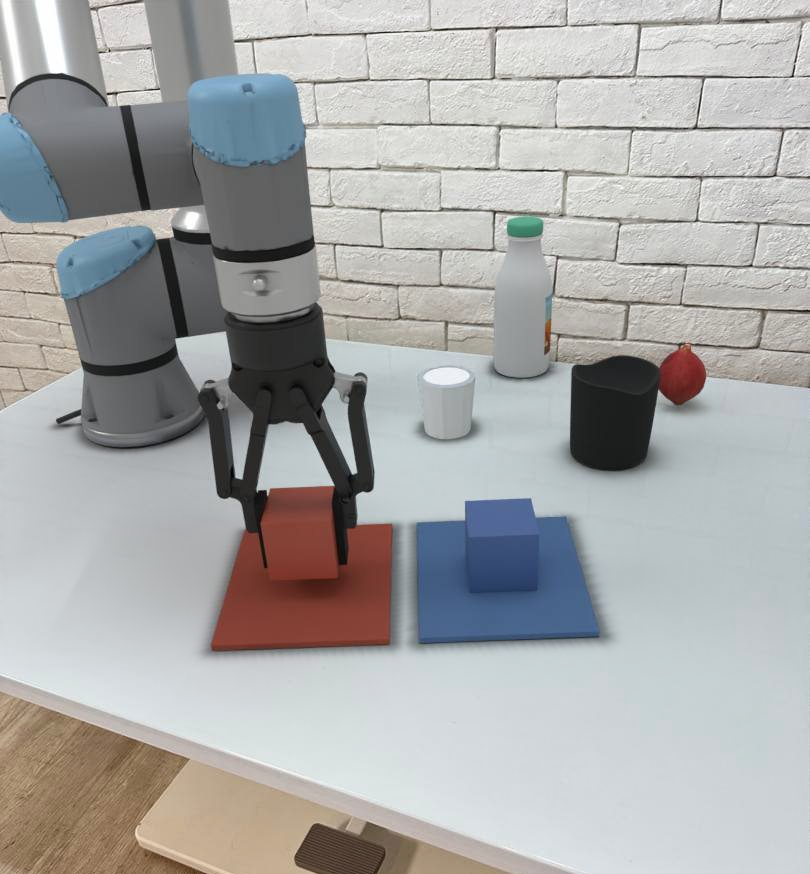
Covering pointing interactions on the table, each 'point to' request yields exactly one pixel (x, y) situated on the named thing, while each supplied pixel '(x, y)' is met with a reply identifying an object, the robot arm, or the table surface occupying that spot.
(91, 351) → the robot arm
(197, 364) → the table surface
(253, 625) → the red mat
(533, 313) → the milk bottle
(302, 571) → the red block
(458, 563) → the blue mat
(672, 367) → the pomegranate
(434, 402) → the white cup
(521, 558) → the blue block
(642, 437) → the pen holder
